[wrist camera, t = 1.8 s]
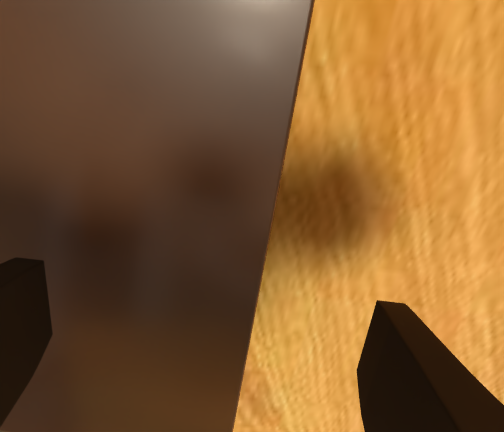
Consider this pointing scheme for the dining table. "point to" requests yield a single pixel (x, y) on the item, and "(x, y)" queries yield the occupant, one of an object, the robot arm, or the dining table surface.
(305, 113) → the dining table surface
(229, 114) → the cabinet
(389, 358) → the robot arm
